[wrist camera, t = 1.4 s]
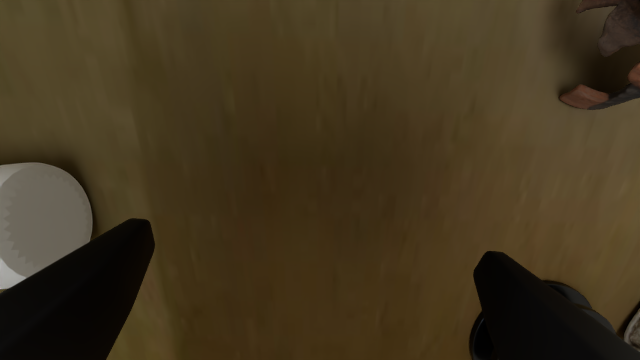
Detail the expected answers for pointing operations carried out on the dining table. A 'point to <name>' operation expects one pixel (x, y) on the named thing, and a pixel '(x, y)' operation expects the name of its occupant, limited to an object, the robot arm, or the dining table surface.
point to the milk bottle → (39, 219)
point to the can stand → (481, 340)
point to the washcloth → (633, 332)
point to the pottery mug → (619, 31)
